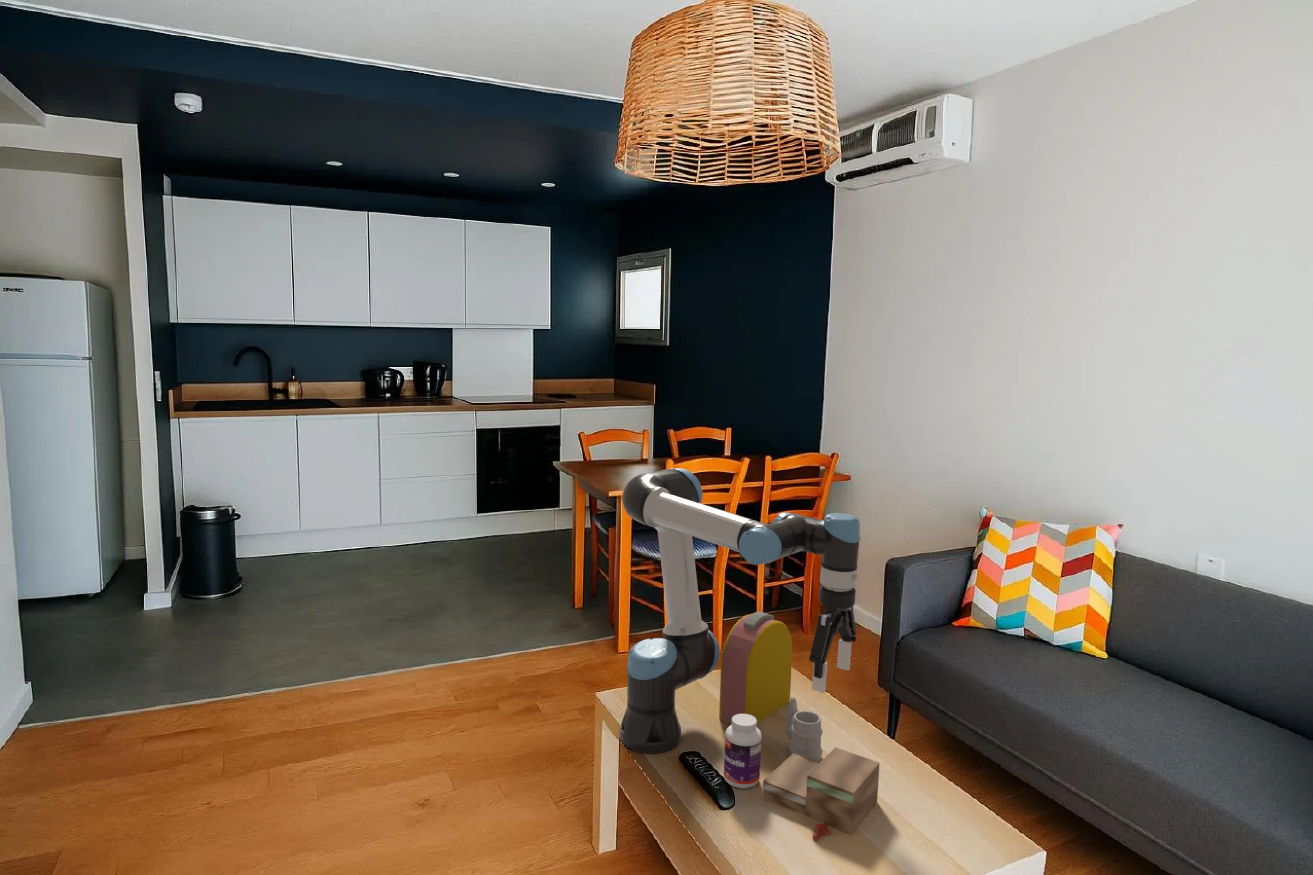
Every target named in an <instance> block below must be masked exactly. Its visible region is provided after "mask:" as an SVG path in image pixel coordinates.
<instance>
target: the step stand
mask: <svg viewBox="0 0 1313 875" xmlns="http://www.w3.org/2000/svg"><path fill="white" fill-rule="evenodd" d="M879 776H880V762H879V761H877V760H873V759H869V758H867V757H865V756H862V755H858V754H856V753H853V752H852V751H848V750H845V749H841V748H839V747H837V746H835V747H834V748H833V749H832V750H831V751H830V752H829V753H828V754H827V755H826V756H825V757H823V759H822V760H820V761H819V762H816V761H813V760H810V759H808V758H805V757H802V756H799V755H797V754H794V753H793V754H792V755H790V756H789V757H788V758H786V759H785V760H784V761H783V762H782V763H781V764H780V765H779V766H777V767H776V769H775V770H774V771H772V772H770V774H769V775H768V776H766V777H765V778H764V779H763V780H762V799H763V800H764V799H765V800H767V801H769V802H771V803H774V804H777V805H779V806H781V807H783V808H786V809H788V810H790V811H792V812H796V813H798V814H799V815H803V816H805V817H807V818H810V819H811V820H815V821H817V822H819V823H815V824H814V829H815V833H813V834H812V840H814V841H816V842H818V841H819V840H820V839H821V838H822V837H823V836H829V835H831V832H832V831H831V829H830V828H831V827H832V828H833V829H837V830H838V831H841V832H843V833H846V834H849V835H852V834H853V833H854V832H855V831H856V829H857V828H858V827H859V826H860V824H861V823H862V822H863V821H864V820H865V819H866V817H867V815H868V814H869V813H870V811H871V810H872V809H873V808H874V807H875V805H876V804H877V803H878V795H879V793H878V791H879V781H880V780H879V779H880V778H879Z"/></svg>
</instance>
